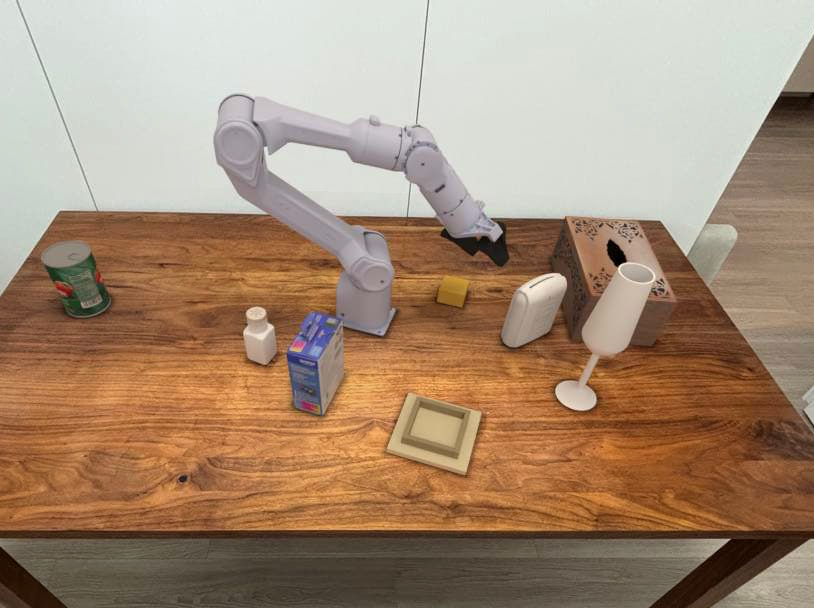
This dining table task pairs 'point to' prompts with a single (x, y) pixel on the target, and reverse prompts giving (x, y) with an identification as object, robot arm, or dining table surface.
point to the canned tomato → (76, 278)
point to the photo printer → (533, 309)
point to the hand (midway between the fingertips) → (489, 257)
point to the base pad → (435, 433)
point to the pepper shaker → (259, 336)
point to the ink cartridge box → (316, 362)
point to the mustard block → (453, 291)
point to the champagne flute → (609, 328)
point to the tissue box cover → (607, 272)
